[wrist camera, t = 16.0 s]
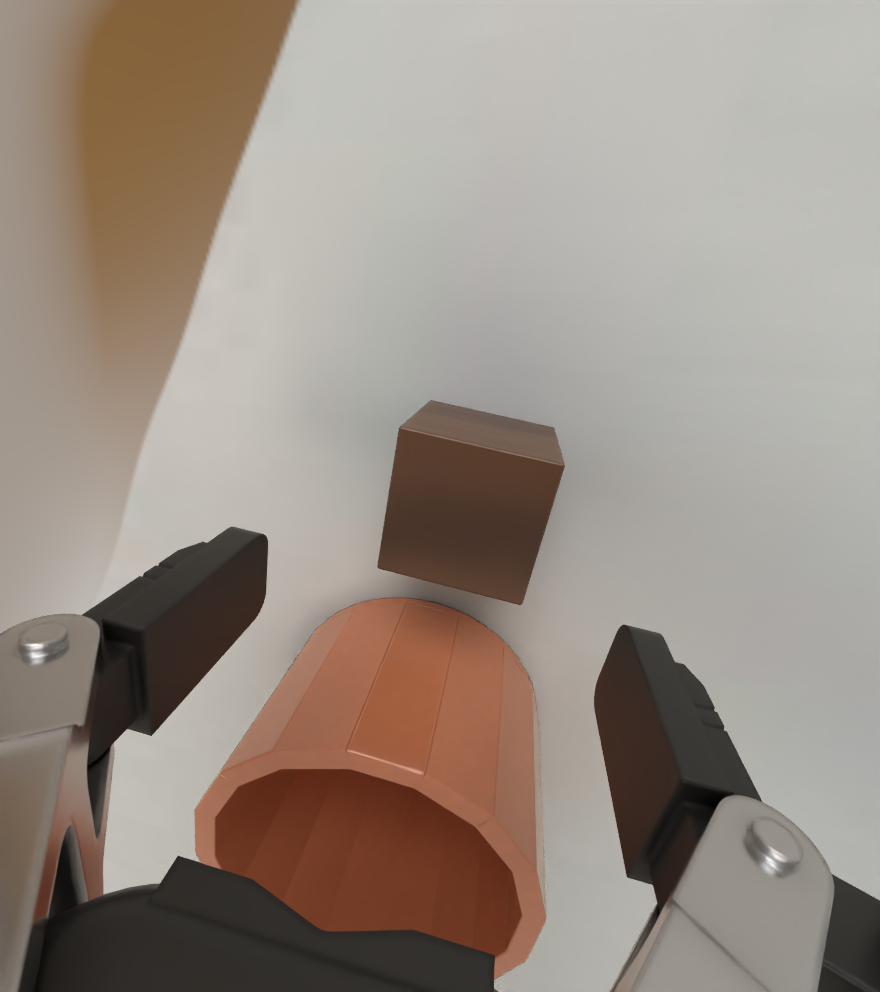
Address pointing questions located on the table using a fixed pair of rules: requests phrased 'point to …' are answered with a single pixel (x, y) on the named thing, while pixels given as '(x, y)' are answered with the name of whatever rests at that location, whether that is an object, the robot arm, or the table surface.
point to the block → (470, 500)
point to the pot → (393, 783)
